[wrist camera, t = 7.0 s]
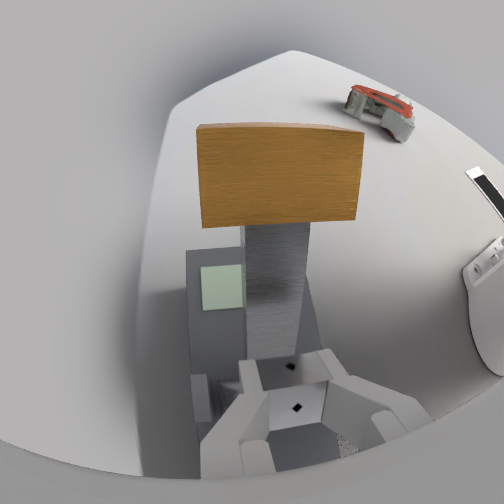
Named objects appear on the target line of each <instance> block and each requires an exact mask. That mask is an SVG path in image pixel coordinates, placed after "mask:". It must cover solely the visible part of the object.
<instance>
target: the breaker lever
mask: <svg viewBox="0 0 504 504" xmlns="http://www.w3.org/2000/svg"><path fill="white" fill-rule="evenodd" d="M196 138H197V159H198V176H199V192H200V206H201V219H202V228H215V227H229V226H240V241H241V278H242V311H243V340H244V360H250V359H254V360H255V359H261V358H271V357H281V356H291V355H294V354H295V347H296V341H297V334H298V327H299V320H300V313H301V305H302V297H303V289H304V281H305V272H306V263H307V254H308V244H309V233H310V222H320V221H344V220H355V217H356V210H357V203H358V195H359V187H360V178H361V168H362V157H363V145H364V133H363V132H359V131H354V130H350V129H345V128H340V127H335V126H329V125H318V124H301V123H264V122H256V123H218V124H201V125H199V126H198V127H197V129H196ZM217 393H218V402H219V409H220V414H221V415H223V414H224V413H225V412H226V411H227V409H228V408H229V407H230V405H231V404H232V403H233V402H234V400H235V399H236V398H237V396H238V395H239V394H241V392H240V380H239V378H238V379H227V380H217Z"/></svg>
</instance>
